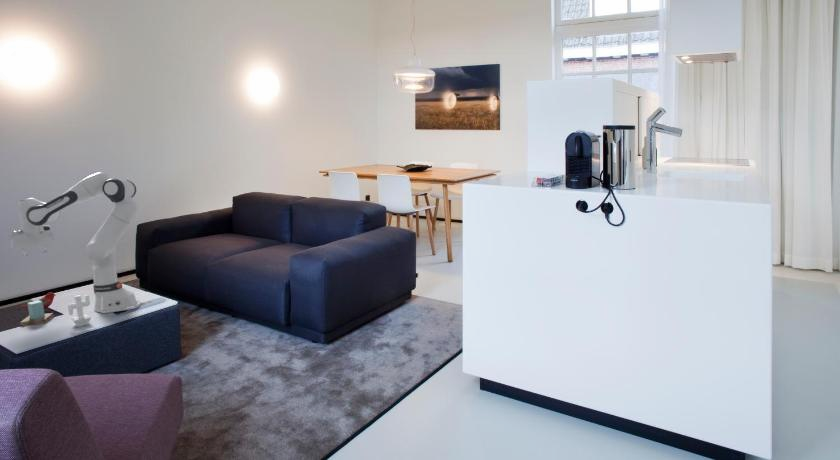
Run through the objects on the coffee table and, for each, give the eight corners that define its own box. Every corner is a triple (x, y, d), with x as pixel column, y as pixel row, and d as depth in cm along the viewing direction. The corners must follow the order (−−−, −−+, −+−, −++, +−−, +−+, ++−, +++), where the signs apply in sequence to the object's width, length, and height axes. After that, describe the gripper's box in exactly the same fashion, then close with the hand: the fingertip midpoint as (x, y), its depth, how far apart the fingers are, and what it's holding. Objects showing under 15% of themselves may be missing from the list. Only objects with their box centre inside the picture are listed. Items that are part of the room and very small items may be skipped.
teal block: (40, 315, 291) (38, 300, 289) (44, 316, 288) (42, 301, 286) (29, 317, 287) (27, 302, 285) (33, 319, 284) (31, 304, 282)
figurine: (69, 325, 279) (64, 296, 277) (90, 320, 286) (86, 292, 283) (72, 328, 274) (68, 299, 272) (94, 323, 281) (90, 294, 278)
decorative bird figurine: (59, 309, 306) (56, 291, 304) (20, 317, 294) (17, 299, 292) (57, 308, 308) (55, 290, 306) (19, 316, 296) (15, 298, 294)
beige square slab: (53, 316, 294) (53, 312, 294) (45, 323, 284) (45, 319, 283) (30, 318, 292) (29, 315, 291) (20, 325, 281) (20, 322, 281)
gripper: (10, 232, 287) (15, 259, 289) (55, 226, 303) (59, 251, 305) (6, 231, 290) (10, 257, 293) (50, 225, 307) (53, 250, 309)
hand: (35, 254), depth 299 cm, fingers open, 8 cm apart
